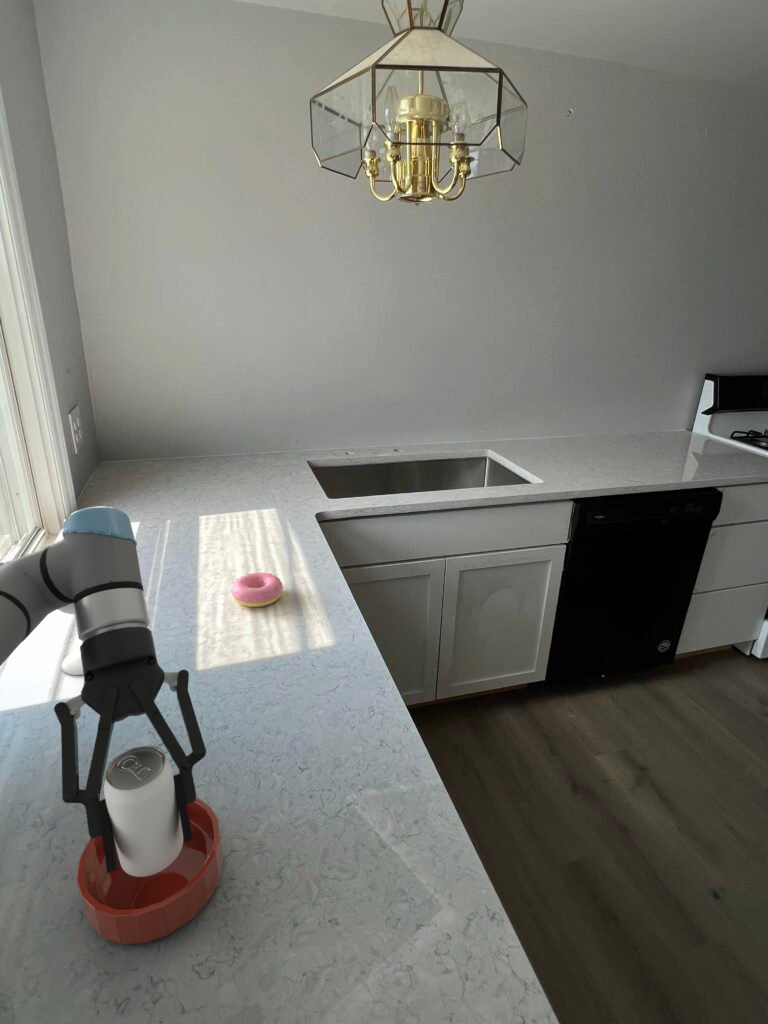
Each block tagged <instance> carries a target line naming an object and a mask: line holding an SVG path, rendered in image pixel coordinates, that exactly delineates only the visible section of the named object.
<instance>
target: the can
mask: <svg viewBox="0 0 768 1024" xmlns="http://www.w3.org/2000/svg"><path fill="white" fill-rule="evenodd" d="M173 773H174V772H173V769H172V765H171V762H170V761H169V760H168V759H167V758H166V754H165V753H164V751H163V750H162V749H161V748H159V747H157V746H155V745H154V746H153V745H139V746H135V747H131V748H129V749H127V750H125V751H123V752H121V753H120V754H118V755H117V756H116V757H115V758H113V759H112V761H111V762H110V763H109V764H108V766H107V768H106V769H105V774H104V776H105V781H104V783H103V795H104V799H105V800H106V805H107V809H108V814H109V818H110V822H111V827H112V831H113V835H114V840H115V844H116V848H117V853H118V857H119V861H120V864H121V867H122V868H123V870H124V871H125V872H126V873H128V874H129V875H132V876H136V877H146V876H151V875H154V874H157V873H159V872H161V871H162V870H164V869H165V868H167V867H168V866H169V865H170V864H171V863H172V862H173V861H174V860H175V859H176V858H177V856H178V855H179V853H180V851H181V849H182V846H183V832H182V825H181V820H180V814H179V808H178V802H177V797H176V791H175V785H174V778H173V776H174V774H173Z"/></svg>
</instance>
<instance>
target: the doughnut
mask: <svg viewBox="0 0 768 1024" xmlns="http://www.w3.org/2000/svg"><path fill="white" fill-rule="evenodd" d="M283 590H284V585H283V582H282V581H281V578H279V577H278V576H277V575H275V574H272V573H268V572H253V573H246V574H245V575H243V576H240V577H239V578H236V580H235V581H234V582H233V585H232V587H231V590H230V592H231V595H232V599H233V600H234V601H235V602H236V603H237V604H239V605H241V606H244V607H248V608H259V606H260V607H265V606H268V605H272V604H273V603H274V602H276V601H278V599H280V597H281V596H282V594H283Z"/></svg>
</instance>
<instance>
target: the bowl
mask: <svg viewBox="0 0 768 1024" xmlns="http://www.w3.org/2000/svg"><path fill="white" fill-rule="evenodd" d="M186 806H187V812H188V817H189V822H190V828H191V833H192V838H193V840H191V841H188V842H186V843H185V841H184V836H183V846H182V849H181V851H180V853H179V855H178V856H177V858H176V859H175V860H174V861H173V862H172V863H171V864H170V865H169V866H168V867H167V868H165V869H164V870H162V871H161V872H159V873H157V874H154V875H151V876H146V877H136V876H132V875H129V874H128V873H126V872H125V871H124V870H123V868H122V867H121V864H120V861H119V857H118V853H117V848H116V844H115V850H116V857H117V864H118V868H117V869H116V870H115V871H112V872H110V873H107V868H106V861H105V853H104V846H103V838H102V835H101V836H99V837H96V838H93V839H92V838H91V837H90V838H89V840H88V842H87V844H86V846H85V848H84V849H83V851H82V853H81V856H80V858H79V860H78V867H77V873H76V882H77V886H78V890H79V894H80V898H81V903H82V905H83V910H84V913H85V916H86V919H87V923H88V925H89V926H90V927H91V928H92V929H93V930H94V931H95V933H96V934H98V936H100V937H101V938H102V939H104V940H107V941H110V942H114V943H116V944H119V945H130V944H133V945H134V944H146V943H149V942H152V941H155V940H157V939H160V938H163V937H166V936H169V935H170V934H172V933H174V932H175V931H176V930H178V929H179V928H181V927H183V926H184V925H186V924H187V923H189V922H190V921H191V920H192V919H193V918H195V916H196V915H197V914H198V913H199V912H200V911H201V910H202V909H203V908H204V907H205V905H206V904H207V903H208V902H209V900H210V899H211V897H212V895H213V894H214V891H215V890H216V888H217V886H218V885H219V882H220V879H221V876H222V869H223V866H224V855H223V847H222V840H221V833H220V824H219V819H218V817H217V815H216V813H215V812H214V811H213V809H212V807H211V806H210V805H208V803H206V802H205V801H203V800H201V799H200V798H198V797H197V796H196V801H194V802H191V803H189V804H186ZM182 832H183V831H182ZM113 836H114V835H113ZM114 843H115V840H114Z"/></svg>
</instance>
